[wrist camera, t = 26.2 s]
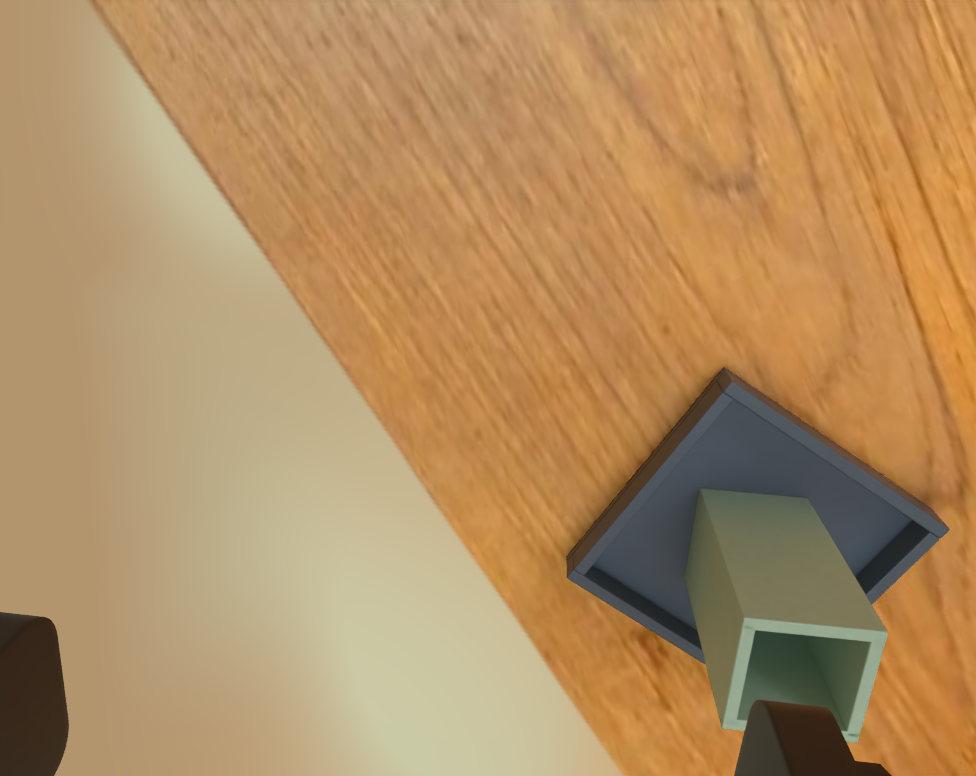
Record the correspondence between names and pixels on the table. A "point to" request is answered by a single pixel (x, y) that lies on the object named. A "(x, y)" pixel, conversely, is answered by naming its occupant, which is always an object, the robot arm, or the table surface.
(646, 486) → the tray
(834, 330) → the table surface
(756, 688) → the sage green rectangular prism
